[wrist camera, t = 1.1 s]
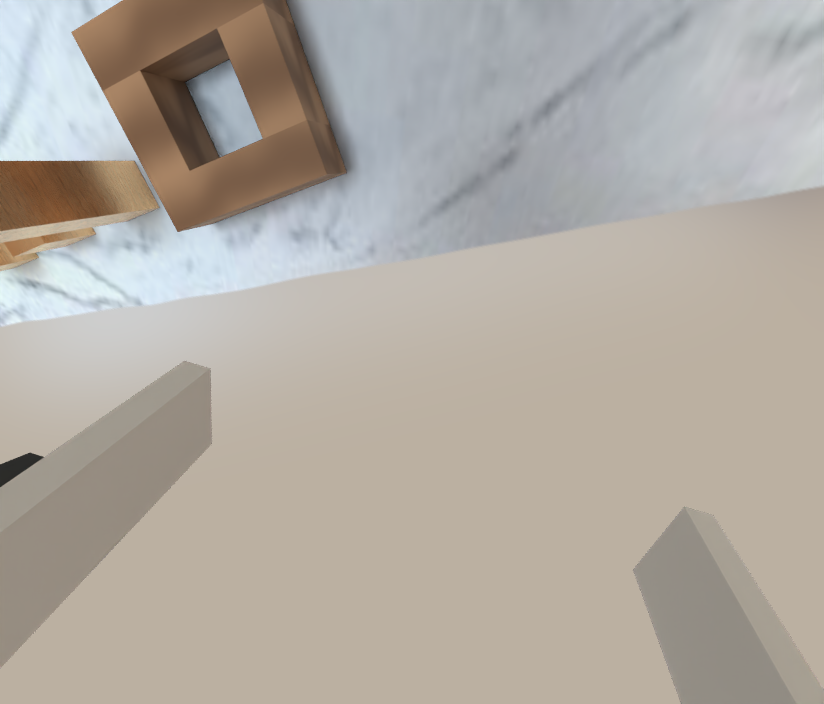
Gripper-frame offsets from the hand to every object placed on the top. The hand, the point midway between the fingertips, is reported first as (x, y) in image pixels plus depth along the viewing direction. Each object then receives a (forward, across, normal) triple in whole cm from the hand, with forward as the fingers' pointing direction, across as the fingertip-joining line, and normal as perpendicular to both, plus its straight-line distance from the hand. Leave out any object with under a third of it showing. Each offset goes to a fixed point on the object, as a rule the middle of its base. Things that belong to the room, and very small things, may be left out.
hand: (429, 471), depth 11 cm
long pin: (+25, -30, -2) cm, 40 cm away
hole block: (+25, -20, +6) cm, 33 cm away
